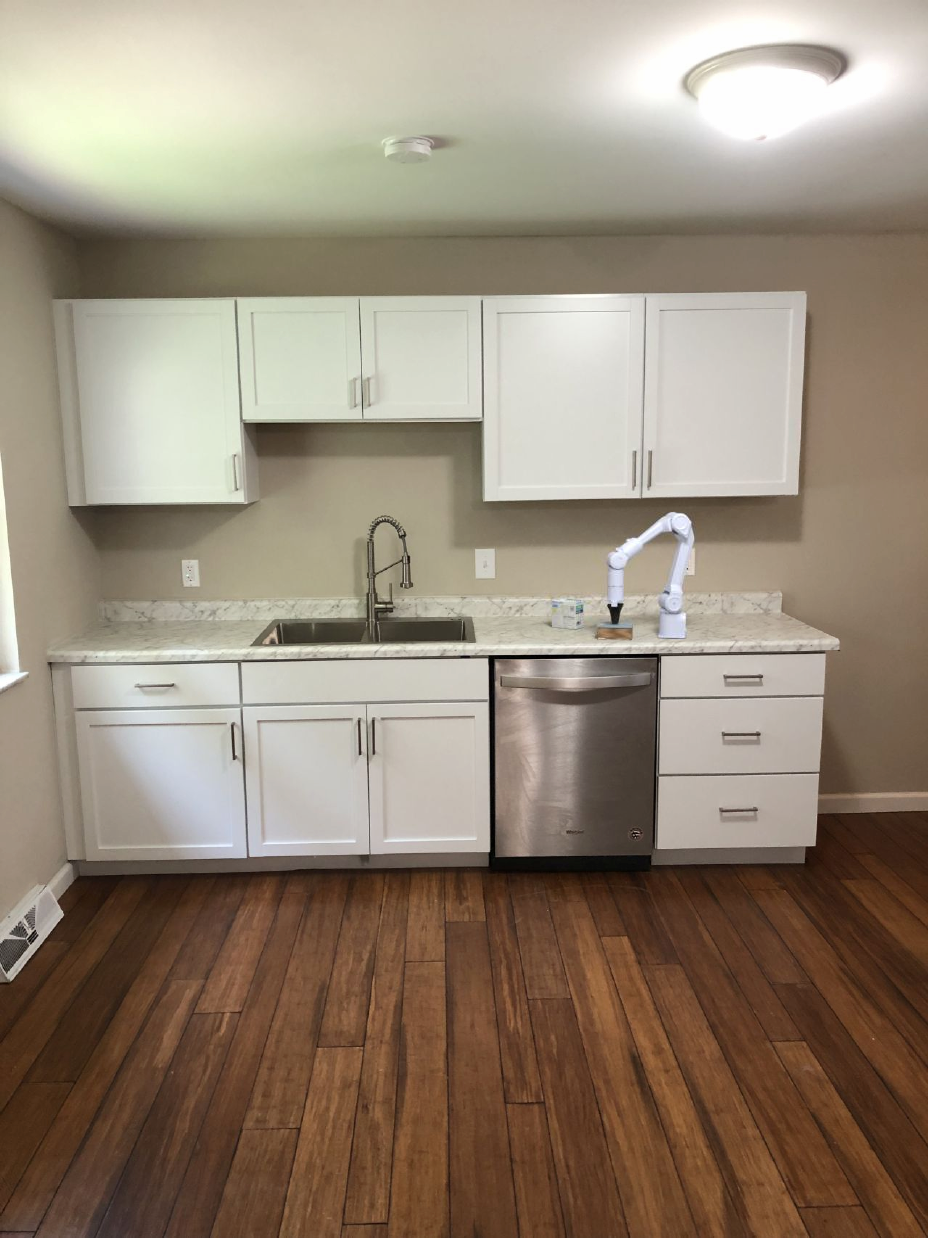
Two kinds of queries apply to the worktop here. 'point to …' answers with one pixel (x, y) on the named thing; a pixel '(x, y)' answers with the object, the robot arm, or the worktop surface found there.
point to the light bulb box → (567, 613)
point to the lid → (615, 625)
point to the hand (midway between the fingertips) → (615, 623)
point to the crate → (615, 633)
